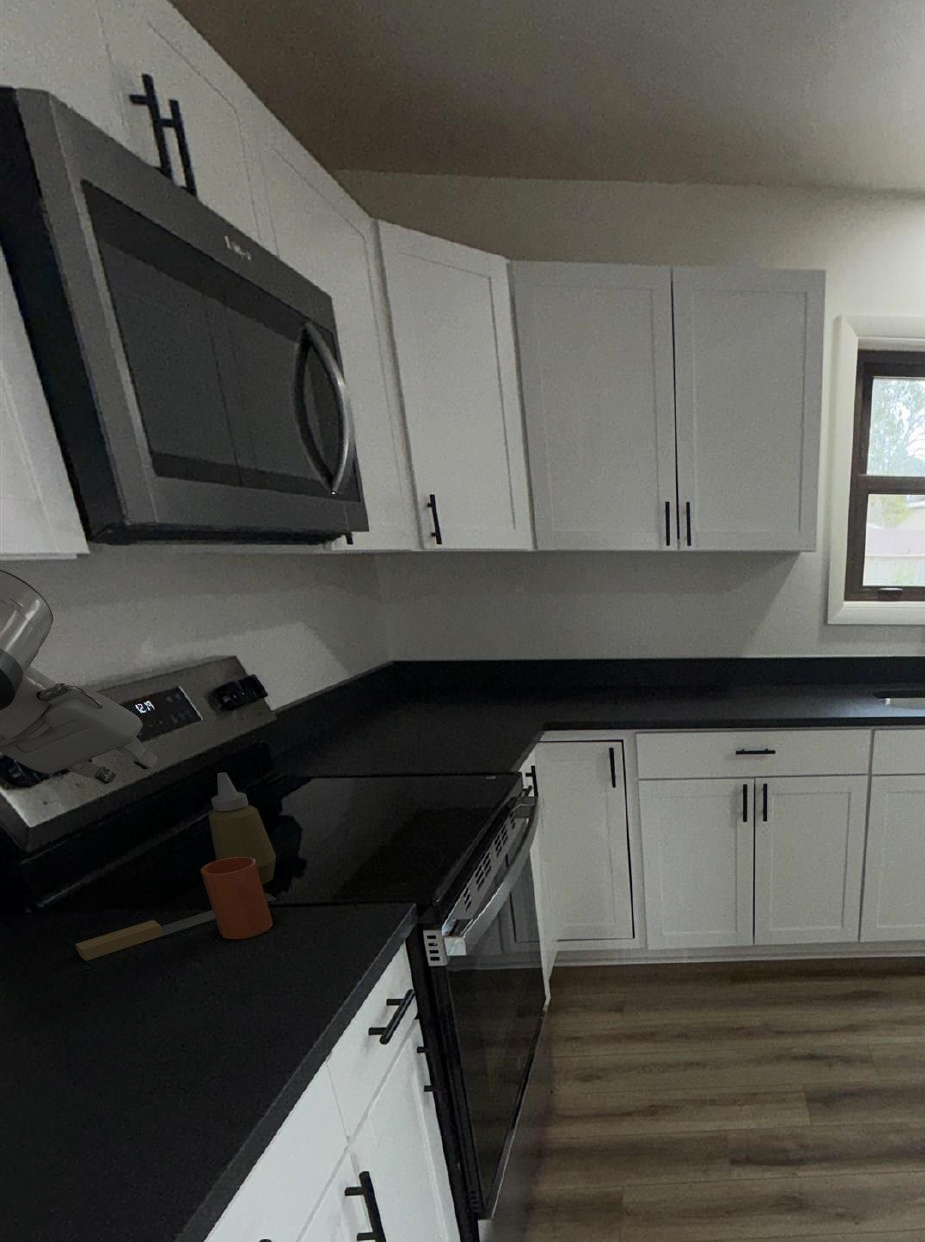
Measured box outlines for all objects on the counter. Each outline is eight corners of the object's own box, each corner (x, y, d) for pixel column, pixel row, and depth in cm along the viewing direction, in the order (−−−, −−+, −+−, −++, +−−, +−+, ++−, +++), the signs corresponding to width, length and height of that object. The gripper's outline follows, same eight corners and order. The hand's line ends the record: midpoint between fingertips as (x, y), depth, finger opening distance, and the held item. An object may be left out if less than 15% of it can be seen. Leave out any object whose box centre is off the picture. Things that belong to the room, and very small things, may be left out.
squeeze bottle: (284, 884, 126) (254, 775, 119) (225, 897, 122) (191, 784, 115) (278, 868, 132) (249, 763, 125) (222, 879, 128) (189, 771, 121)
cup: (233, 945, 108) (212, 878, 104) (213, 932, 111) (192, 867, 107) (281, 928, 113) (263, 863, 108) (261, 916, 116) (242, 853, 112)
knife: (87, 963, 103) (82, 950, 103) (79, 956, 105) (74, 943, 104) (277, 901, 121) (273, 889, 120) (267, 896, 122) (264, 884, 122)
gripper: (79, 661, 94) (189, 737, 105) (-10, 704, 103) (100, 770, 113) (51, 699, 91) (167, 773, 102) (-39, 740, 99) (77, 805, 110)
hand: (131, 772), depth 107 cm, fingers open, 8 cm apart
